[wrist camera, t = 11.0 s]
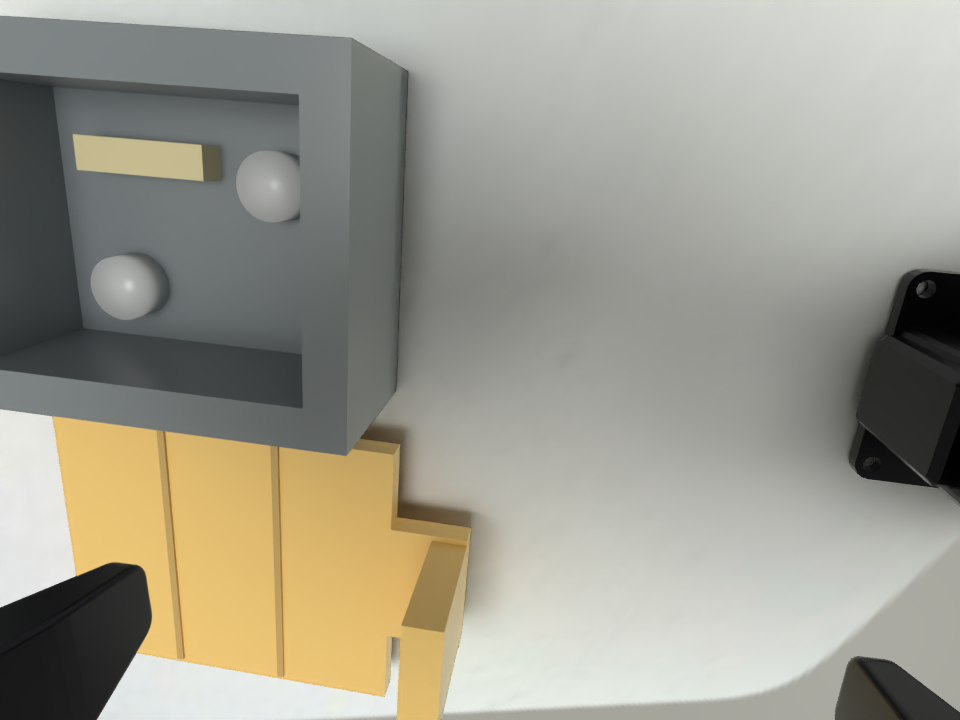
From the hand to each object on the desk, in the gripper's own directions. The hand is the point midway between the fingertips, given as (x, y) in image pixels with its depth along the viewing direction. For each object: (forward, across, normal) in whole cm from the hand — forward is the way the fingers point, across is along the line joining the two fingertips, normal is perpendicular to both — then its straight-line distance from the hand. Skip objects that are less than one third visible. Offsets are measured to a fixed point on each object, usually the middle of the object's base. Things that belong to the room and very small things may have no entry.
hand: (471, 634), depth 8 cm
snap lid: (+13, +9, +8) cm, 18 cm away
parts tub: (+13, +10, -3) cm, 17 cm away
